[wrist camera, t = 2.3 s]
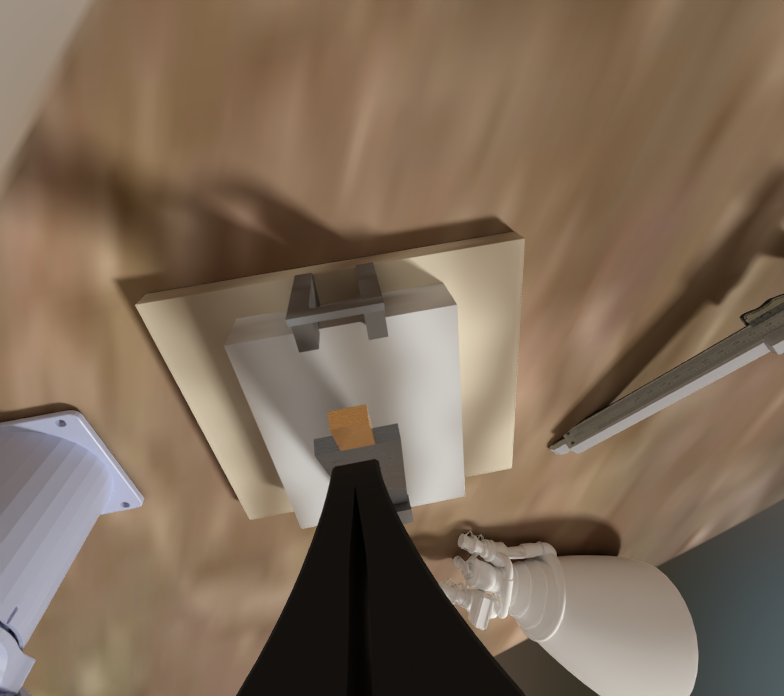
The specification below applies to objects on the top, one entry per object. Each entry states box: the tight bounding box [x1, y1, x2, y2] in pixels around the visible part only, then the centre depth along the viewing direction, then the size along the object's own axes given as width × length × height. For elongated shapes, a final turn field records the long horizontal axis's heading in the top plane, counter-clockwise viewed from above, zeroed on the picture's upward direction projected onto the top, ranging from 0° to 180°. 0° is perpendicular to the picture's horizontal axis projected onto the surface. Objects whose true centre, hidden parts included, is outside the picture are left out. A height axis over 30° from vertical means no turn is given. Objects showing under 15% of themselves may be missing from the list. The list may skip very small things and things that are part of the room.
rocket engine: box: [439, 530, 698, 696], centre depth 33 cm, size 12×12×18 cm
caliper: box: [549, 294, 784, 455], centre depth 22 cm, size 20×1×6 cm, turn 140°
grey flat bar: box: [313, 404, 408, 505], centre depth 17 cm, size 3×13×1 cm, turn 7°
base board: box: [135, 232, 525, 529], centre depth 21 cm, size 18×16×6 cm
